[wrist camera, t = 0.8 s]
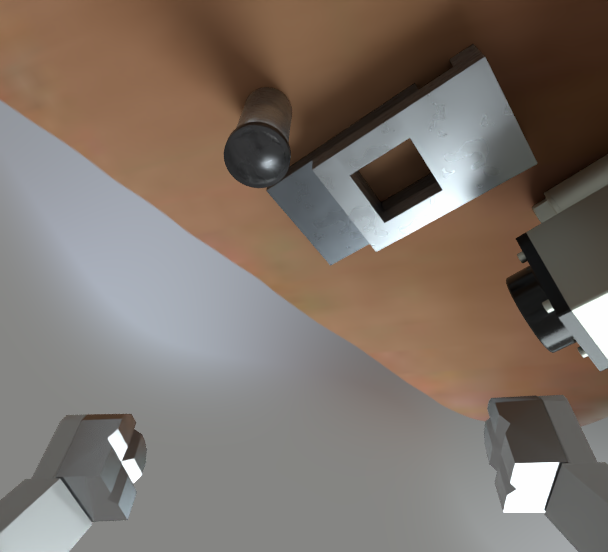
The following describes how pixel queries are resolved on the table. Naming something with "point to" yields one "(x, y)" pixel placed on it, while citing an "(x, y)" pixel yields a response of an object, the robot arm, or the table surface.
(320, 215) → the square-holed grey plate
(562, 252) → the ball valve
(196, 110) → the table surface
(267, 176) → the pin
